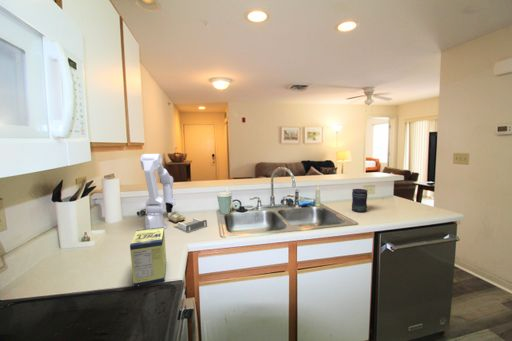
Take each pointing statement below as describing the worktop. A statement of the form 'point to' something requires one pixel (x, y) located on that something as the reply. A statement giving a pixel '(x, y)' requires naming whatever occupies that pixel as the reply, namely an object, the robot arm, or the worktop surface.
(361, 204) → the storage jar
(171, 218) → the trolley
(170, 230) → the worktop surface
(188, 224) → the loading dock
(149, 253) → the protein box
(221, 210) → the disposable coffee cup
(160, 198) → the robot arm
